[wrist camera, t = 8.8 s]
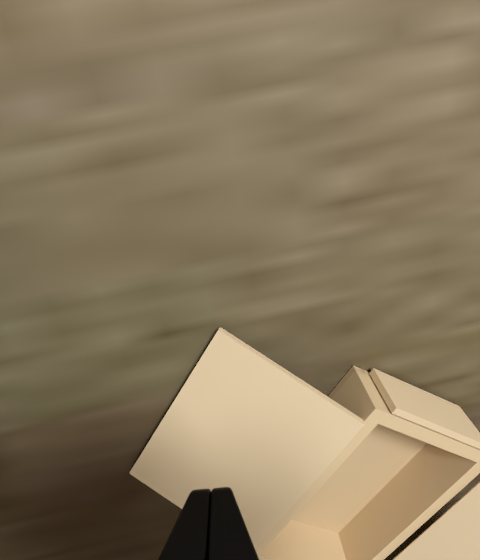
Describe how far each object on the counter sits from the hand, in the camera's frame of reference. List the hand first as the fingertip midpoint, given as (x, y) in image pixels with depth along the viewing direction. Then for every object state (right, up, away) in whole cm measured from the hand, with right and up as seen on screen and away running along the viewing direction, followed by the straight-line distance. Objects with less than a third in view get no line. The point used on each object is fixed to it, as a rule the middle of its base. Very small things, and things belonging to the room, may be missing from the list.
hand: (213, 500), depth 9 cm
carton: (+4, -6, +18) cm, 19 cm away
